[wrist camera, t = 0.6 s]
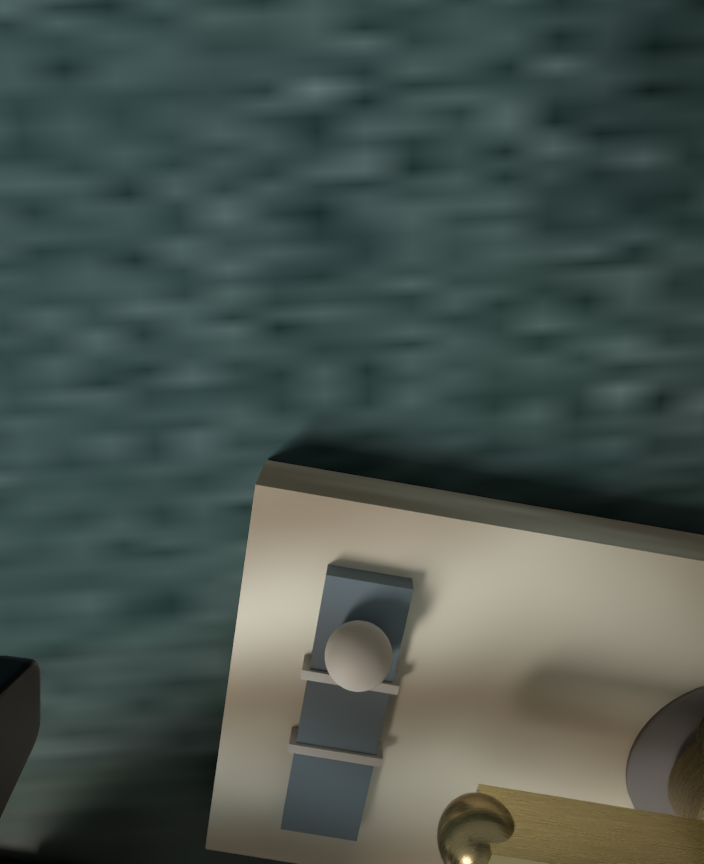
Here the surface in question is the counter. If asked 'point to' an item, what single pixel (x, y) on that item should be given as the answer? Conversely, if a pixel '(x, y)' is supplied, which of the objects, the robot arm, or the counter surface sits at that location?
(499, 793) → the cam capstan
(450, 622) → the latch board
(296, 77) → the counter surface
